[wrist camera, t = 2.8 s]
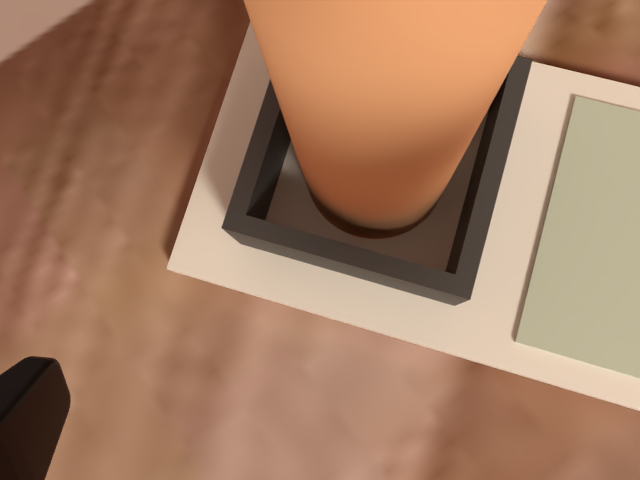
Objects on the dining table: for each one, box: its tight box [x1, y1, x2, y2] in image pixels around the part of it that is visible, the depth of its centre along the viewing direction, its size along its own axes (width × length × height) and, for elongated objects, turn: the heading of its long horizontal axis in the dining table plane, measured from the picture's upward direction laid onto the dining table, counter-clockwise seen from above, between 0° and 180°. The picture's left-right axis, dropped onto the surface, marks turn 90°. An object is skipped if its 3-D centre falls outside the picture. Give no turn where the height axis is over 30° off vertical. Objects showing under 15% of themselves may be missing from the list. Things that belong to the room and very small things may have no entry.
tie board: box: [167, 21, 640, 411], centre depth 20 cm, size 23×11×4 cm, turn 73°
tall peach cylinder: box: [244, 0, 547, 239], centre depth 15 cm, size 5×5×13 cm
